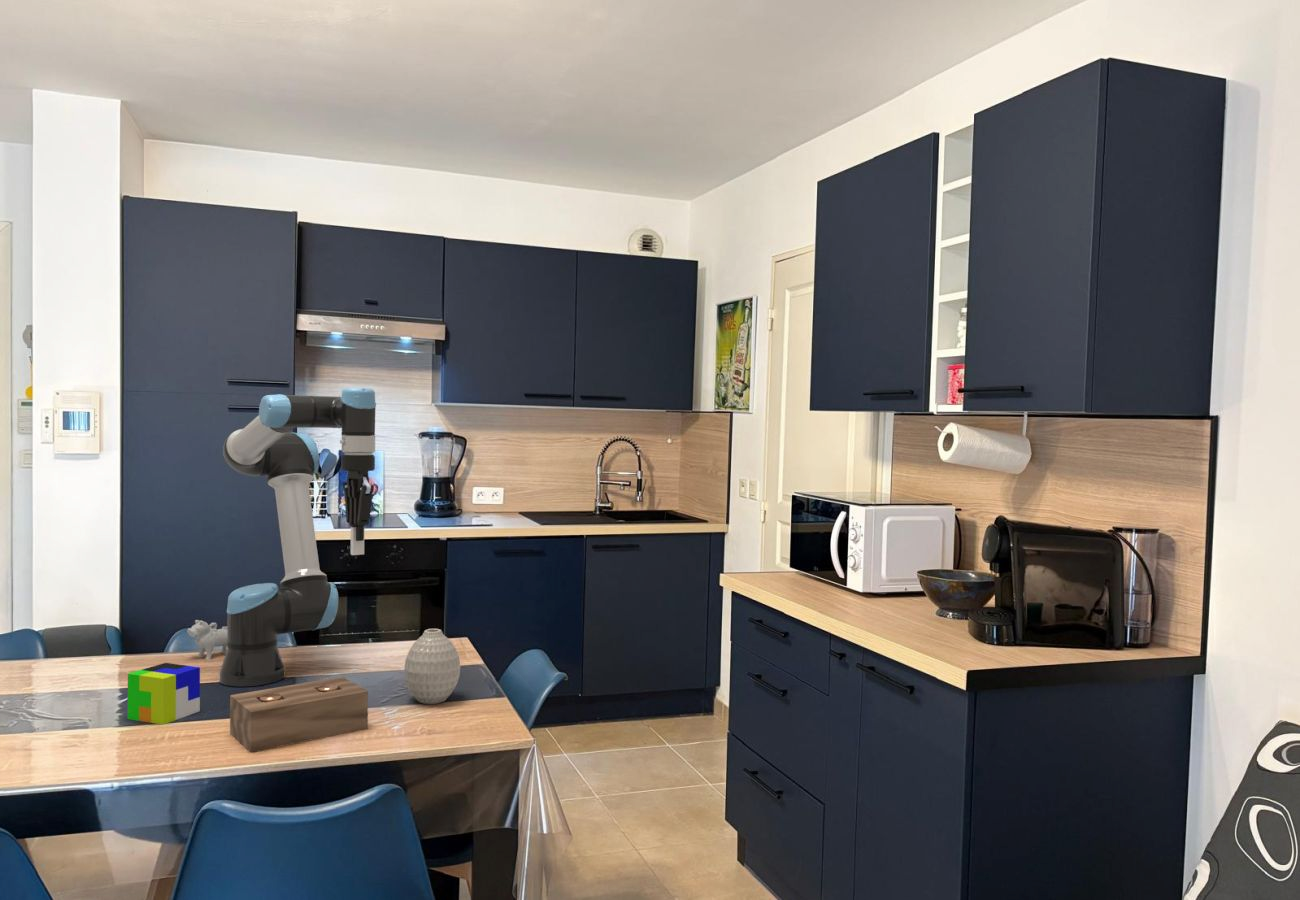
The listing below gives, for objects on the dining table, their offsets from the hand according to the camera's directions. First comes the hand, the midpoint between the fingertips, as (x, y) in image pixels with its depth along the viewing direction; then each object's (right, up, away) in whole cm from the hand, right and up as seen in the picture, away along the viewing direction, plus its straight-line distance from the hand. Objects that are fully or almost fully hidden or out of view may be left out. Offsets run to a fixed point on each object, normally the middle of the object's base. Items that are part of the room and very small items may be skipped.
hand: (357, 554), depth 217 cm
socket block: (-6, -35, -21) cm, 41 cm away
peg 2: (-1, -34, -17) cm, 38 cm away
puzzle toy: (-39, -34, -12) cm, 53 cm away
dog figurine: (-52, -33, +38) cm, 72 cm away
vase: (+17, -35, +2) cm, 39 cm away
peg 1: (-10, -34, -25) cm, 44 cm away
